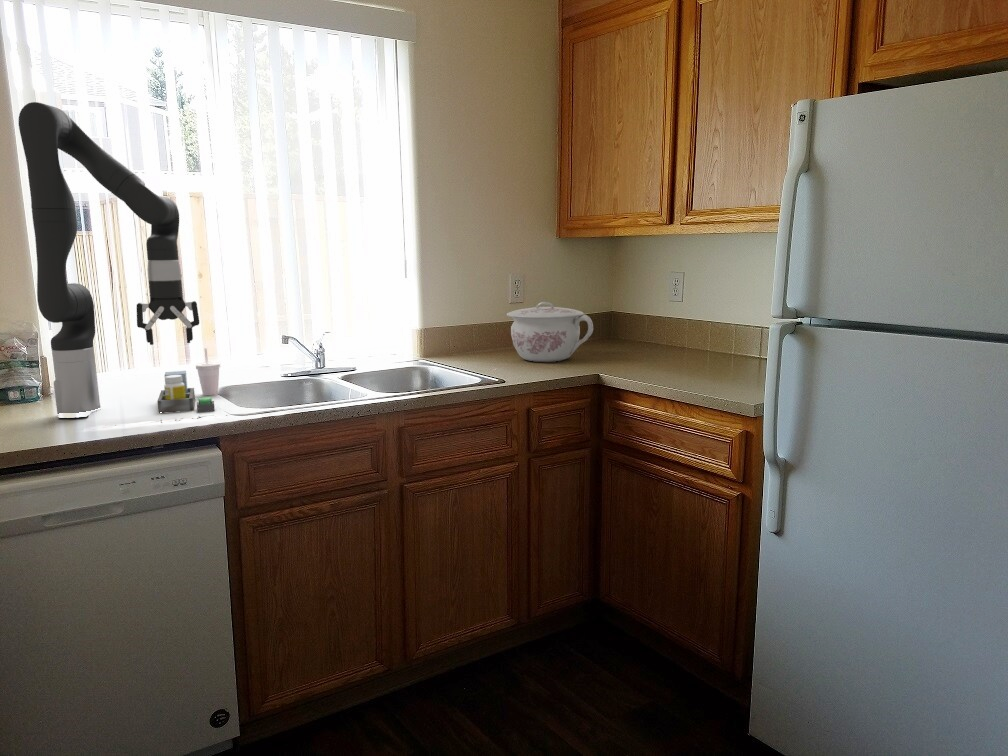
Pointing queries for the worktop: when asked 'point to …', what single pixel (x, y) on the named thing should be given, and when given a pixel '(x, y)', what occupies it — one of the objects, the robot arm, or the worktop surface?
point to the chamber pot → (547, 332)
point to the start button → (205, 400)
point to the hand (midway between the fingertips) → (170, 343)
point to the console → (205, 407)
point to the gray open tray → (176, 402)
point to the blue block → (182, 377)
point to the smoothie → (208, 376)
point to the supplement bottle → (174, 387)
